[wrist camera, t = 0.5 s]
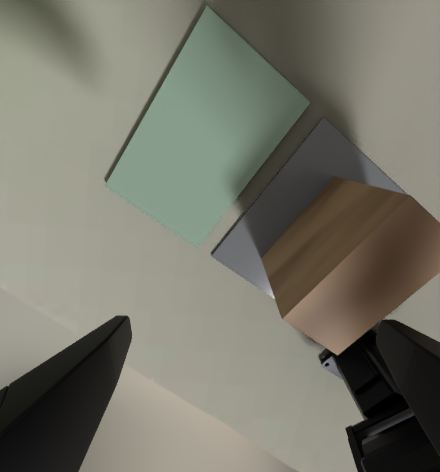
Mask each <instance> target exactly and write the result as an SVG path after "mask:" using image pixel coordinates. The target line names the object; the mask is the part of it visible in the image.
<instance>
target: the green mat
mask: <svg viewBox="0 0 440 472" xmlns="http://www.w3.org/2000/svg"><path fill="white" fill-rule="evenodd" d="M310 103H311V102H310V101H308V100H307V99H306V98H305V97H304V96H303V95H302V94H301V93H300V92H299V91H298V90H297V89H296V88H295V87H294V86H292V85H291V84H290V83H289V82H288V81H287V80H286V79H285V78H284V77H283V76H282V75H281V74H280V73H279V72H277V71H276V70H275V69H274V68H273V67H272V66H271V65H270V64H269V63H268V62H267V61H266V60H265V59H264V58H263V57H261V56H260V55H259V54H258V53H257V52H256V51H255V50H254V49H253V48H252V47H251V46H250V45H249V44H248V43H247V42H245V41H244V40H243V39H242V38H241V37H240V36H239V35H238V34H237V33H236V32H235V31H234V30H233V29H232V28H231V27H229V26H228V25H227V24H226V23H225V22H224V21H223V20H222V19H221V18H220V17H219V16H218V15H217V14H216V13H215V12H213V11H212V10H211V9H210V8H209V7H208V6H206V8H205V10H204V12H203V13H202V15H201V17H200V19H199V20H198V22H197V24H196V26H195V27H194V29H193V31H192V33H191V35H190V36H189V38H188V40H187V42H186V43H185V45H184V47H183V49H182V50H181V52H180V54H179V56H178V58H177V59H176V61H175V63H174V65H173V66H172V68H171V70H170V72H169V73H168V75H167V77H166V79H165V80H164V82H163V84H162V86H161V88H160V89H159V91H158V93H157V95H156V96H155V98H154V100H153V102H152V103H151V105H150V107H149V109H148V111H147V112H146V114H145V116H144V118H143V119H142V121H141V123H140V125H139V126H138V128H137V130H136V132H135V133H134V135H133V137H132V139H131V141H130V142H129V144H128V146H127V148H126V149H125V151H124V153H123V155H122V156H121V158H120V160H119V162H118V164H117V165H116V167H115V169H114V171H113V172H112V174H111V176H110V178H109V179H108V181H107V183H106V185H105V186H106V187H107V188H109V189H110V190H111V191H113V192H114V193H116V194H117V195H119V196H120V197H122V198H123V199H125V200H126V201H128V202H129V203H131V204H132V205H134V206H135V207H137V208H138V209H140V210H141V211H143V212H144V213H146V214H147V215H149V216H150V217H152V218H153V219H155V220H156V221H158V222H159V223H161V224H162V225H163V226H165V227H166V228H168V229H169V230H171V231H172V232H174V233H175V234H177V235H178V236H180V237H181V238H183V239H184V240H186V241H187V242H189V243H190V244H192V245H193V246H195V247H196V248H198V247H199V246H200V244H201V243H202V242H203V240H204V239H205V238H206V237H207V235H208V234H209V233H210V231H211V230H212V229H213V228H214V226H215V225H216V224H217V222H218V221H219V220H220V219H221V217H222V216H223V215H224V213H225V212H226V211H227V210H228V208H229V207H230V206H231V204H232V203H233V202H234V201H235V199H236V198H237V197H238V195H239V194H240V193H241V192H242V190H243V189H244V188H245V186H246V185H247V184H248V183H249V181H250V180H251V179H252V177H253V176H254V175H255V174H256V172H257V171H258V170H259V168H260V167H261V166H262V165H263V163H264V162H265V161H266V159H267V158H268V157H269V156H270V154H271V153H272V152H273V150H274V149H275V148H276V147H277V145H278V144H279V143H280V141H281V140H282V139H283V138H284V136H285V135H286V134H287V132H288V131H289V130H290V129H291V127H292V126H293V125H294V123H295V122H296V121H297V120H298V118H299V117H300V116H301V114H302V113H303V112H304V111H305V109H306V108H307V107H308V105H309V104H310Z"/></svg>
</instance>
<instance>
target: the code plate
mask: <svg viewBox="0 0 440 472" xmlns="http://www.w3.org/2000/svg"><path fill="white" fill-rule="evenodd" d="M334 177H338V178H342V179H347V180H351V181H355V182H359V183H363V184H367V185H371V186H375V187H379V188H383V189H387V190H391V191H395V192H399V193H403V194H406V193H405V192H404V191H402V190H401V189H400V188H399V187H398V186H397V185H396V184H395V183H394V182H393V181H392V180H391V179H390V178H389V177H388V176H386V175H385V174H384V173H383V172H382V171H381V170H380V169H379V168H378V167H377V166H376V165H375V164H374V163H373V162H371V161H370V160H369V159H368V158H367V157H366V156H365V155H364V154H363V153H362V152H361V151H360V150H359V149H358V148H356V147H355V146H354V145H353V144H352V143H351V142H350V141H349V140H348V139H347V138H346V137H345V136H344V135H343V134H341V133H340V132H339V131H338V130H337V129H336V128H335V127H334V126H333V125H332V124H331V123H330V122H329V121H328V120H326V119H325V118H324V117H323V118H322V119H321V121H320V122H319V123H318V124H317V126H316V127H315V128H314V129H313V131H312V132H311V133H310V134H309V135H308V137H307V138H306V139H305V140H304V142H303V143H302V144H301V145H300V147H299V148H298V149H297V150H296V152H295V153H294V154H293V155H292V156H291V158H290V159H289V160H288V161H287V163H286V164H285V165H284V166H283V168H282V169H281V170H280V171H279V173H278V174H277V175H276V176H275V177H274V179H273V180H272V181H271V182H270V184H269V185H268V186H267V187H266V189H265V190H264V191H263V192H262V194H261V195H260V196H259V197H258V198H257V200H256V201H255V202H254V203H253V205H252V206H251V207H250V208H249V210H248V211H247V212H246V213H245V215H244V216H243V217H242V218H241V219H240V221H239V222H238V223H237V224H236V226H235V227H234V228H233V229H232V231H231V232H230V233H229V234H228V236H227V237H226V238H225V239H224V240H223V242H222V243H221V244H220V245H219V247H218V248H217V249H216V250H215V252H214V253H213V254H212V255H211V256H212V257H213V258H215V259H216V260H218V261H219V262H221V263H222V264H224V265H225V266H227V267H228V268H230V269H231V270H233V271H234V272H236V273H237V274H239V275H240V276H241V277H243V278H244V279H246V280H247V281H249V282H250V283H252V284H253V285H255V286H256V287H258V288H259V289H261V290H262V291H264V292H265V293H267V294H268V295H270V296H271V297H273V298H274V299H275V297H274V294H273V292H272V289H271V286H270V283H269V280H268V277H267V274H266V272H265V269H264V266H263V263H262V260H261V258H262V257H263V256H264V255H265V254H266V252H267V251H268V250H269V249H270V248H271V247H272V246H273V245H274V243H275V242H276V241H277V240H278V239H279V238H280V237H281V236H282V235H283V233H284V232H285V231H286V230H287V229H288V228H289V227H290V226H291V225H292V223H293V222H294V221H295V220H296V219H297V218H298V217H299V216H300V215H301V213H302V212H303V211H304V210H305V209H306V208H307V207H308V206H309V204H310V203H311V202H312V201H313V200H314V199H315V198H316V197H317V196H318V194H319V193H320V192H321V191H322V190H323V189H324V188H325V187H326V186H327V184H328V183H329V182H330V181H331V180H332V179H333V178H334Z"/></svg>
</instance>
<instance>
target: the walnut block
mask: <svg viewBox="0 0 440 472" xmlns="http://www.w3.org/2000/svg"><path fill="white" fill-rule="evenodd" d="M261 260H262V263H263V266H264V269H265V272H266V274H267V277H268V280H269V283H270V286H271V289H272V292H273V294H274V297H275V300H276V303H277V306H278V309H279V311H280V314H281V317H282V319H283V320H284V321H286V322H287V323H289V324H290V325H292V326H293V327H295V328H297V329H298V330H300V331H301V332H303V333H304V334H306V335H307V336H309V337H310V338H312V339H313V340H315V341H316V342H318V343H319V344H321V345H322V346H324V347H325V348H327V349H328V350H330V351H332V352H333V353H335V354H336V355H339V354H340V353H341V352H342V351H344V350H345V349H346V348H347V347H349V346H350V345H351V344H352V343H353V342H355V341H356V340H357V339H358V338H360V337H361V336H362V335H363V334H365V333H366V332H367V331H368V330H369V329H371V328H372V327H373V326H374V325H376V324H377V323H378V322H379V321H380V320H382V319H383V318H384V317H385V316H387V315H388V314H389V313H390V312H391V311H393V310H394V309H395V308H396V307H398V306H399V305H400V304H401V303H403V302H404V301H405V300H406V299H407V298H409V297H410V296H411V295H412V294H414V293H415V292H416V291H417V290H418V289H420V288H421V287H422V286H423V285H425V284H426V283H427V282H428V281H429V280H431V279H432V278H433V277H434V276H436V275H437V274H438V273H439V272H440V223H439V222H438V221H437V220H436V219H435V218H434V217H433V216H432V215H431V214H430V213H429V212H428V211H427V210H426V209H424V208H423V207H422V206H421V205H420V204H419V203H418V202H417V201H416V200H415V199H414V198H413V197H412V196H411V195H407V194H403V193H399V192H395V191H391V190H387V189H383V188H379V187H375V186H371V185H367V184H363V183H359V182H355V181H351V180H347V179H342V178H338V177H334V178H333V179H332V180H331V181H330V182H329V183H328V184H327V186H326V187H325V188H324V189H323V190H322V191H321V192H320V193H319V194H318V196H317V197H316V198H315V199H314V200H313V201H312V202H311V203H310V204H309V206H308V207H307V208H306V209H305V210H304V211H303V212H302V213H301V215H300V216H299V217H298V218H297V219H296V220H295V221H294V222H293V223H292V225H291V226H290V227H289V228H288V229H287V230H286V231H285V232H284V233H283V235H282V236H281V237H280V238H279V239H278V240H277V241H276V242H275V243H274V245H273V246H272V247H271V248H270V249H269V250H268V251H267V252H266V254H265V255H264V256H263V257H262V258H261Z"/></svg>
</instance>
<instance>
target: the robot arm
mask: <svg viewBox="0 0 440 472" xmlns="http://www.w3.org/2000/svg"><path fill="white" fill-rule="evenodd" d="M131 340H132V331H131V324H130V319H129V317H128V316H115V317H114V318H112V319H111V320H109V321H107V322H106V323H104V324H103V325H101V326H100V327H98V328H97V329H95V330H93V331H92V332H90V333H89V334H87V335H86V336H84V337H83V338H81V339H79V340H78V341H76V342H75V343H73V344H72V345H70V346H68V347H67V348H65V349H64V350H62V351H61V352H59V353H58V354H56V355H54V356H53V357H51V358H50V359H48V360H47V361H45V362H43V363H42V364H40V365H39V366H37V367H36V368H34V369H33V370H31V371H29V372H28V373H26V374H25V375H23V376H22V377H20V378H19V379H17V380H15V381H14V382H12V383H11V384H10V385H9V386H6V387H4V388H3V389H1V390H0V472H78V471H79V469H80V467H81V465H82V462H83V460H84V458H85V456H86V453H87V451H88V449H89V446H90V444H91V442H92V440H93V437H94V435H95V433H96V431H97V428H98V426H99V424H100V421H101V419H102V417H103V415H104V412H105V410H106V408H107V406H108V403H109V401H110V399H111V396H112V394H113V392H114V390H115V387H116V385H117V382H118V380H119V377H120V374H121V371H122V368H123V365H124V361H125V358H126V355H127V352H128V349H129V346H130V343H131ZM321 364H322V366H323V368H325V369H327V370H328V371H330V372H331V373H333V374H335V375H336V376H338V377H339V378H341V379H342V380H344V382H345V384H346V386H347V388H348V390H349V392H350V394H351V396H352V397H353V399H354V401H355V403H356V405H357V407H358V409H359V411H360V413H361V415H362V417H363V418H364V420H363V421H361V422H359V423H357V424H356V425H354V426H351V425H350V426H348V427H346V432H347V435H348V438H349V439H348V441H349V445H350V448H351V451H352V454H353V458H354V461H355V464H356V467H357V471H358V472H440V342H438V341H436V340H434V339H432V338H430V337H428V336H426V335H424V334H422V333H420V332H418V331H416V330H414V329H412V328H410V327H408V326H406V325H404V324H402V323H400V322H398V321H396V320H382V321H381V322H380V325H379V329H378V333H377V332H376V331H375V330H373V329H372V328H371V329H369V330H368V331H367V332H366V333H365V334H363V335H362V336H361V337H360V338H358V339H357V340H356V341H355V342H353V343H352V344H351V345H350V346H349V347H347V348H346V349H345V350H344V351H342V352H341V353H340V354H339V355H336V354H335V353H333V352H331V353H329V354H328V355H327V356H326V357H325V358H323V359H322V360H321Z"/></svg>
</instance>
